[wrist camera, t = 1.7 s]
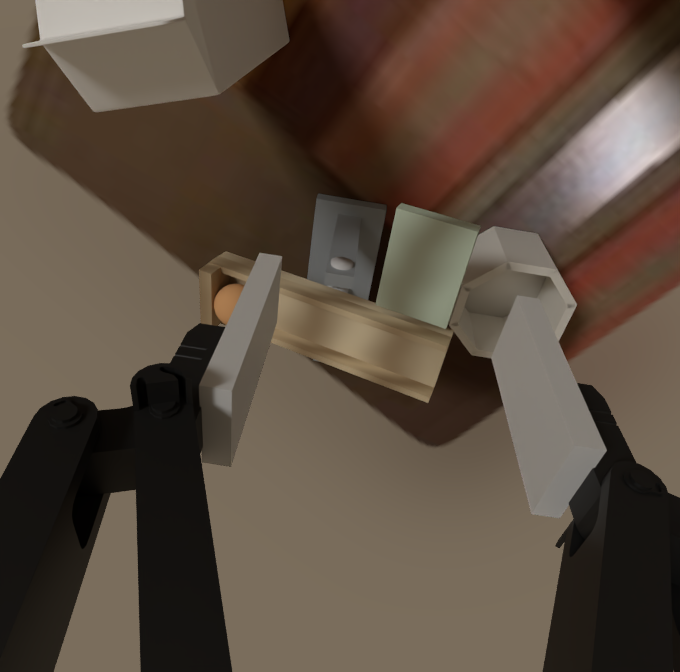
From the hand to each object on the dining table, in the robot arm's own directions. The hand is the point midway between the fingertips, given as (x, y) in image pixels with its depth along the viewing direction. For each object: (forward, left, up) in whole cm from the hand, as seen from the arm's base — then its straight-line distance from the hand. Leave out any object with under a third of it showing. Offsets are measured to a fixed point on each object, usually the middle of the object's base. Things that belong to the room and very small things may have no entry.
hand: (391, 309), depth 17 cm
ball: (+9, +12, -16) cm, 22 cm away
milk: (+12, -6, -27) cm, 31 cm away
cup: (-13, +12, -27) cm, 32 cm away
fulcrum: (+2, +12, -27) cm, 30 cm away
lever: (+2, +8, -16) cm, 18 cm away
